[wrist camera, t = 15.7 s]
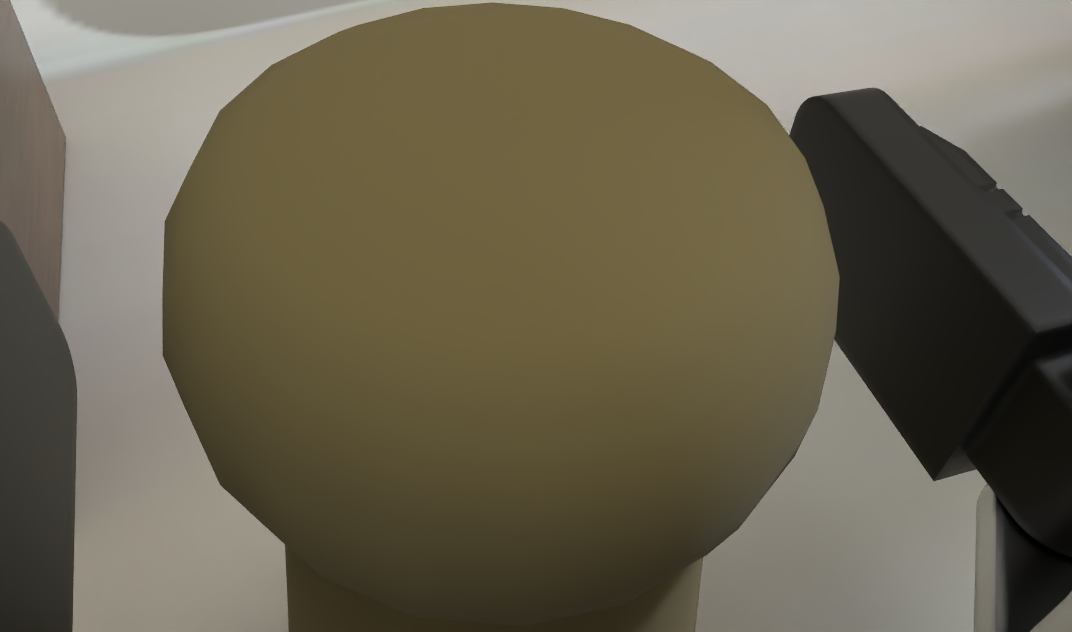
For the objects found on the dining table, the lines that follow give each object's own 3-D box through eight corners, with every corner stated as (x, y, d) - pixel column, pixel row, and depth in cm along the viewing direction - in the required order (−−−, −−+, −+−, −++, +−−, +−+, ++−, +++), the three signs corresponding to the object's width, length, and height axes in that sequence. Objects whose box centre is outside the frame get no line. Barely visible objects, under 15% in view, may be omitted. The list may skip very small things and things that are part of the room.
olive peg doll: (757, 817, 13) (1198, 298, 5) (353, 1019, 11) (59, 712, 3) (582, 485, 17) (680, -123, 9) (255, 599, 15) (2, -34, 7)
